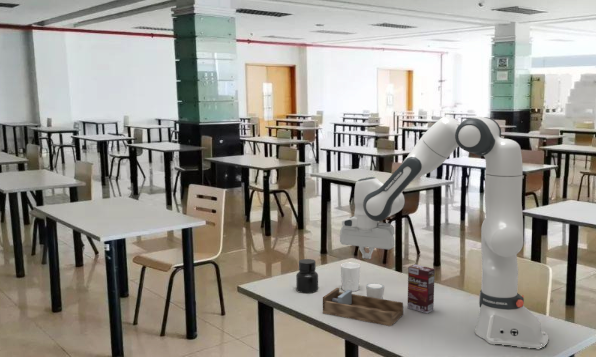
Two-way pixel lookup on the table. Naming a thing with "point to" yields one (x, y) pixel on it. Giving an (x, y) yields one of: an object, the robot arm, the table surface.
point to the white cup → (350, 276)
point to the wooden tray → (364, 308)
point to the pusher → (344, 298)
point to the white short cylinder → (375, 290)
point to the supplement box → (421, 288)
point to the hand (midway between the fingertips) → (366, 258)
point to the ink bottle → (307, 276)
